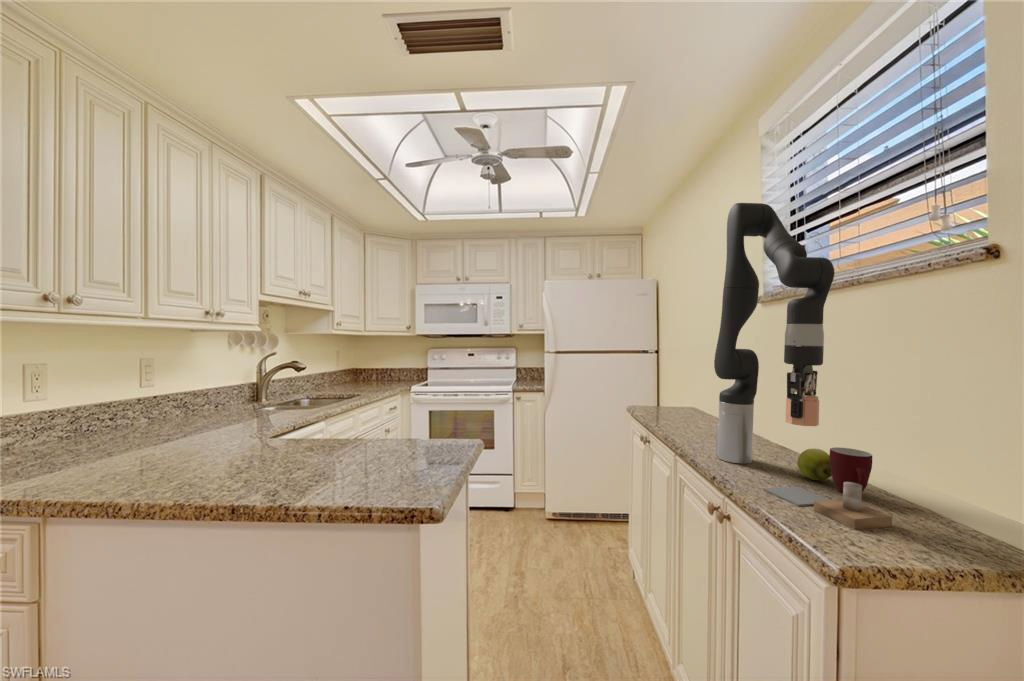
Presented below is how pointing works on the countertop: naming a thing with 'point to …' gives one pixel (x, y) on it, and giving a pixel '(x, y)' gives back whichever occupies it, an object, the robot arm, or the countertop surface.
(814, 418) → the cap
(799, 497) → the mat
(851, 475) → the mug
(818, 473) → the apple
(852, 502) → the post block
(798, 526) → the countertop surface
